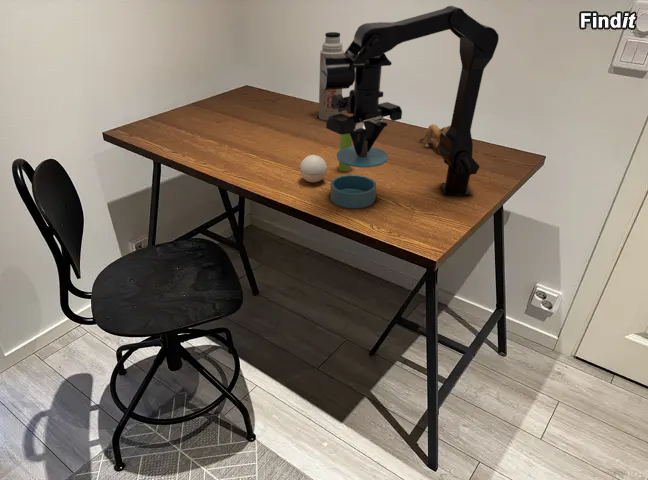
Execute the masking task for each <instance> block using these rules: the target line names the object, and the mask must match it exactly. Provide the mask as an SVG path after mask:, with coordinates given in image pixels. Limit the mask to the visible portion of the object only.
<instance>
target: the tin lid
mask: <svg viewBox="0 0 648 480" xmlns="http://www.w3.org/2000/svg"><path fill="white" fill-rule="evenodd" d="M367 151H368V139H367V138H365V139H364V143H363V147H362V150H361V153H360V155H358V154H356V152H355V148H354V145H352V146H351V147H347V148H344V149H341V150H340V149H339V150H338V151H337V152H336V157H335V158H336V160H337V161H338V163H339V162H341V163H343V164H345V165H348V166H350V167H353V168H364V169H365V168H366V169H367V168H375V167H379V166H383V165H384V164H386V162H388V160H389V154H388V153H387V152H386V151H384V150H383V149H380V148H377V147H374V146H372V147H371V149H370V151H369V152H367Z"/></svg>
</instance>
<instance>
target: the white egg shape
mask: <svg viewBox="0 0 648 480" xmlns="http://www.w3.org/2000/svg"><path fill="white" fill-rule="evenodd" d="M298 170H299V173H300V176H301V177H302V178H303V180H305V181H306V182H308V183H319V182H321V180H323V179H324V178H325V177H326V174H327V172H328V171H327V170H328V168H327V163H326V161H325V160H324V159H323V157H321V156H320V155H317V154H310V155H307V156H305V158H303V159H302V161H301V162H300V164H299V168H298Z"/></svg>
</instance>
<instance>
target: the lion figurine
mask: <svg viewBox="0 0 648 480" xmlns="http://www.w3.org/2000/svg"><path fill="white" fill-rule="evenodd" d="M450 126H451V125H448V126H444V127H442V128H440V127H439V126H438V125H437V124H434V123H433V124H430V125H429V126H428V127H427V131H426V132H425V135H424V137H423V138H420V139H419V141H420V142H423V141H424V140H425V139H426V140H425V145H424V147H425V148H430V145H429V144H432V140H431V139H434V140H435V141H436V142H438V143H439V142H440V134H441V133H445V134H446V132H447V131H448V130H449V128H450Z"/></svg>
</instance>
